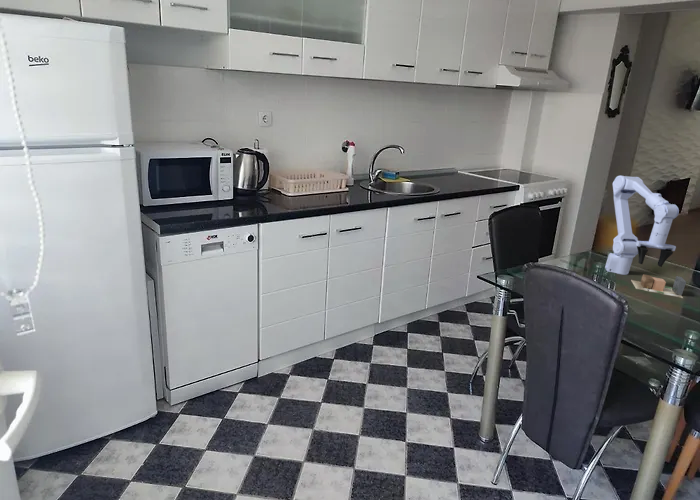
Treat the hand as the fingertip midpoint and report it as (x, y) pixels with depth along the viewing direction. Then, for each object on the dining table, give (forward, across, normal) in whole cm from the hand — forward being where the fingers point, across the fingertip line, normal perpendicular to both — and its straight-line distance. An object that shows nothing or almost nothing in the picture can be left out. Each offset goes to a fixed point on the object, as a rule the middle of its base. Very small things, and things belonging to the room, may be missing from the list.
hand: (649, 264), depth 202 cm
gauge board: (+10, +4, -3) cm, 11 cm away
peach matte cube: (+9, +4, -3) cm, 10 cm away
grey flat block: (+10, +11, -5) cm, 16 cm away
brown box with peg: (+9, 0, -2) cm, 9 cm away
